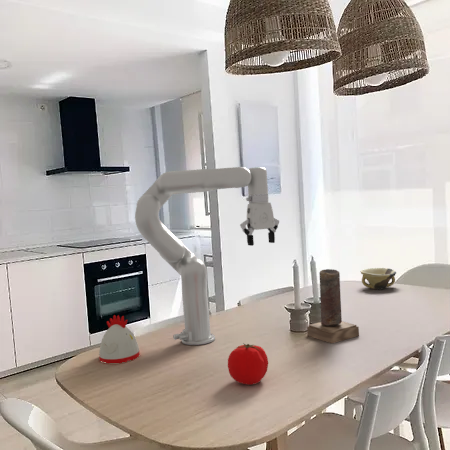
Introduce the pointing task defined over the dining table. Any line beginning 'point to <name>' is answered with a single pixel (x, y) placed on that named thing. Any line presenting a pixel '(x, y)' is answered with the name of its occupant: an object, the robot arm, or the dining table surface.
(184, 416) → the dining table surface
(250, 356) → the tomato
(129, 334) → the kitchen timer
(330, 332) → the plinth
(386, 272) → the bowl
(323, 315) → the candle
